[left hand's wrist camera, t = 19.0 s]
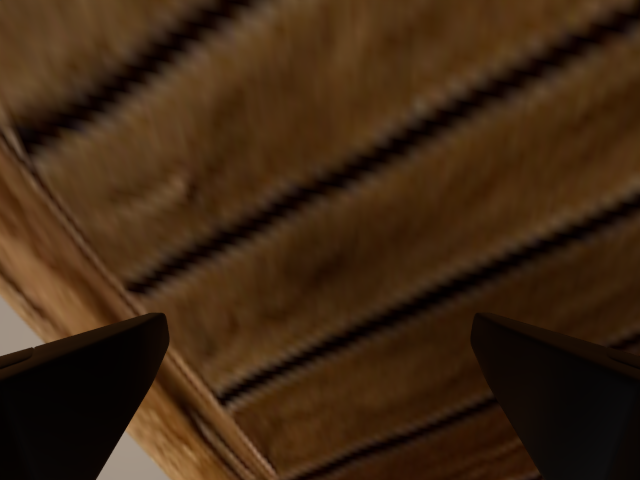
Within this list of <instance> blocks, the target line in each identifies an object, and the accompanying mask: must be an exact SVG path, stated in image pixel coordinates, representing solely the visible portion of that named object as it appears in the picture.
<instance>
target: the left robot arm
mask: <svg viewBox="0 0 640 480" xmlns="http://www.w3.org/2000/svg"><path fill="white" fill-rule="evenodd" d="M168 346H169V331H168V325H167V319H166V316H165V314H164V313H148V314H145V315H142V316H138V317H135V318H131V319H128V320H125V321H121V322H118V323H114V324H111V325H108V326H104V327H101V328H97V329H94V330H91V331H87V332H84V333H80V334H77V335H74V336H70V337H67V338H63V339H60V340H57V341H53V342H50V343H46V344H43V345H40V346H36V347H35V348H32V347H31V348H28V349H24V350H21V351H17V352H14V353H10V354H7V355H3V356H0V480H96V479H97V477H98V475H99V474H100V472H101V470H102V468H103V467H104V465H105V463H106V462H107V460H108V458H109V457H110V455H111V453H112V451H113V450H114V448H115V446H116V445H117V443H118V441H119V440H120V438H121V436H122V434H123V433H124V431H125V429H126V428H127V426H128V424H129V423H130V421H131V419H132V418H133V416H134V414H135V412H136V411H137V409H138V407H139V406H140V404H141V402H142V401H143V399H144V397H145V395H146V394H147V392H148V390H149V389H150V387H151V385H152V383H153V381H154V379H155V377H156V374H157V372H158V370H159V367H160V365H161V363H162V360H163V358H164V356H165V353H166V351H167V349H168ZM471 346H472V349H473V351H474V353H475V356H476V358H477V360H478V363H479V365H480V367H481V370H482V372H483V374H484V377H485V379H486V381H487V383H488V385H489V387H490V389H491V390H492V392H493V394H494V395H495V397H496V399H497V401H498V402H499V404H500V406H501V407H502V409H503V411H504V412H505V414H506V416H507V418H508V419H509V421H510V423H511V424H512V426H513V428H514V429H515V431H516V433H517V435H518V436H519V438H520V440H521V441H522V443H523V445H524V446H525V448H526V450H527V452H528V453H529V455H530V457H531V458H532V460H533V462H534V463H535V465H536V467H537V469H538V470H539V472H540V474H541V475H542V477H543V479H544V480H640V356H637V355H633V354H630V353H626V352H623V351H619V350H616V349H612V348H609V347H607V348H605V347H604V346H600V345H597V344H594V343H590V342H587V341H583V340H580V339H577V338H573V337H570V336H566V335H563V334H560V333H556V332H553V331H549V330H546V329H543V328H539V327H536V326H532V325H529V324H526V323H522V322H519V321H515V320H512V319H509V318H505V317H502V316H498V315H495V314H492V313H476V314H475V316H474V319H473V325H472V331H471Z"/></svg>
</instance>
